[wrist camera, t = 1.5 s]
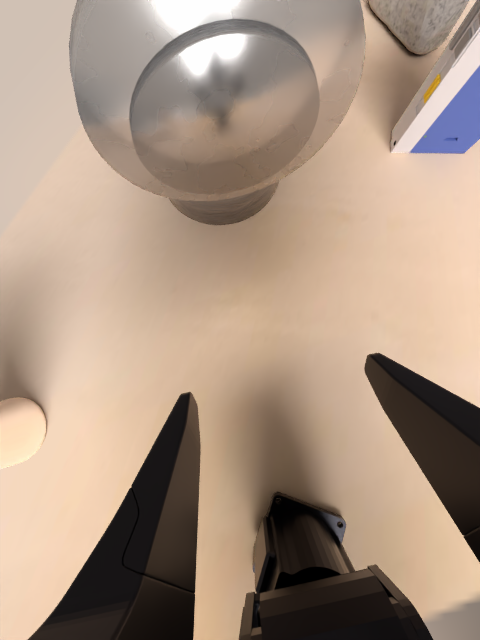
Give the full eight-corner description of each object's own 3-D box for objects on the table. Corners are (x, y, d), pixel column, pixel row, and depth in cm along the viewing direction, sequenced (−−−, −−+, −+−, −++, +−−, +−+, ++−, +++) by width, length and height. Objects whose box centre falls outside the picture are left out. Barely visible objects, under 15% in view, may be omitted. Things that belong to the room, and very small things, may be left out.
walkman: (461, 131, 26) (638, -53, 14) (463, 154, 26) (648, -17, 14) (388, 130, 26) (504, -52, 15) (389, 152, 26) (509, -16, 14)
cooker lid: (308, 170, 20) (312, 189, 20) (147, 202, 20) (150, 221, 20) (462, -167, 6) (475, -107, 6) (-60, -66, 6) (-49, -6, 6)
